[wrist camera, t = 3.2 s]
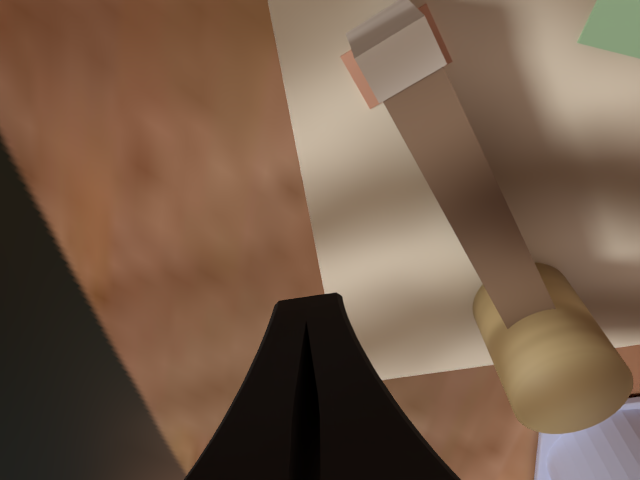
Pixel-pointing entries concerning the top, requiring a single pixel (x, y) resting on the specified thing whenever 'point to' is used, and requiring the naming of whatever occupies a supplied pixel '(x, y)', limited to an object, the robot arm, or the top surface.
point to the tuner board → (502, 156)
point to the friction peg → (492, 239)
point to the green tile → (614, 27)
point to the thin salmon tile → (361, 80)
